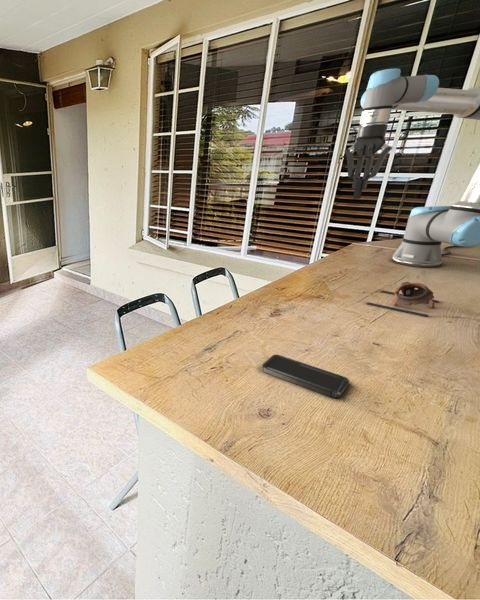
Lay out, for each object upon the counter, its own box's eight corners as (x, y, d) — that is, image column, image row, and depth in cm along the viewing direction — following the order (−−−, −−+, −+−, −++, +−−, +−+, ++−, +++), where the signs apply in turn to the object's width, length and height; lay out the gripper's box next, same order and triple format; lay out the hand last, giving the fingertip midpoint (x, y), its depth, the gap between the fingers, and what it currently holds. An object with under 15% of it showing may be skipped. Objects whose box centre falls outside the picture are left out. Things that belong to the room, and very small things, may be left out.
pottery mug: (444, 313, 102) (441, 293, 98) (403, 323, 106) (399, 304, 103) (420, 290, 111) (416, 270, 108) (384, 300, 115) (379, 281, 112)
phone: (339, 395, 68) (260, 366, 79) (338, 400, 68) (259, 370, 79) (351, 378, 73) (275, 353, 83) (349, 383, 73) (274, 357, 84)
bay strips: (381, 291, 119) (382, 290, 119) (438, 301, 109) (438, 300, 108) (366, 304, 110) (366, 303, 110) (427, 317, 99) (427, 316, 99)
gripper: (346, 126, 118) (331, 198, 127) (395, 122, 108) (376, 200, 117) (353, 127, 122) (338, 196, 131) (401, 122, 113) (382, 198, 121)
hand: (356, 198), depth 124 cm, fingers closed
